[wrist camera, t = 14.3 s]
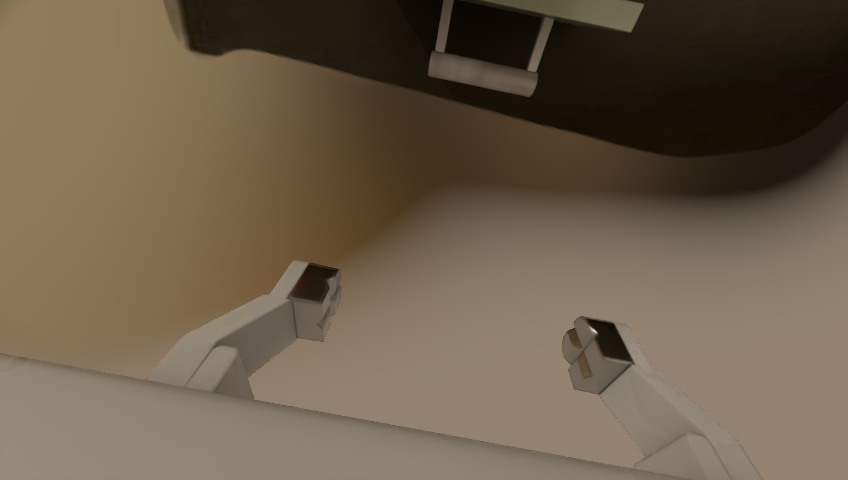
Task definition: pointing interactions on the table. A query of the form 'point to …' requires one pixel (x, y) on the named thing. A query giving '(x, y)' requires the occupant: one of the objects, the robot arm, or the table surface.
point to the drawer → (569, 3)
